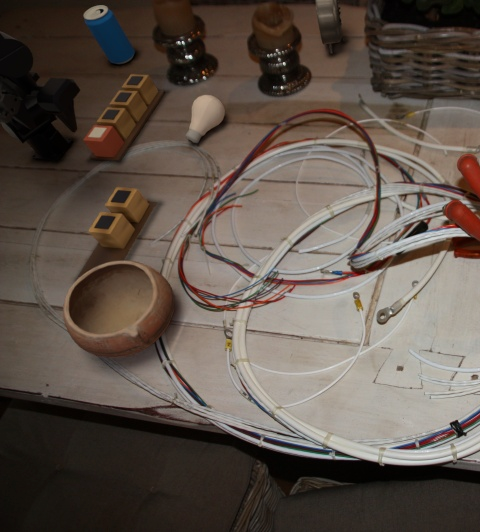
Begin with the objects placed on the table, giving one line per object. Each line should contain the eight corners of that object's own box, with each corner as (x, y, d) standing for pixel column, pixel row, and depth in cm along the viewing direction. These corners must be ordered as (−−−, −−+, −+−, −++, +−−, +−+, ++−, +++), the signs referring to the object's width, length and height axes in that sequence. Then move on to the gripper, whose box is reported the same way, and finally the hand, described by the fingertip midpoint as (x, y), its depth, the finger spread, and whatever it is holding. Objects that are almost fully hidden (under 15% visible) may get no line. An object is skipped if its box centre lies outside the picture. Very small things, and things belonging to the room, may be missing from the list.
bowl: (161, 374, 83) (127, 346, 75) (73, 362, 86) (31, 334, 78) (199, 288, 92) (172, 254, 84) (117, 280, 95) (83, 246, 87)
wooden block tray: (79, 278, 96) (60, 261, 92) (126, 201, 106) (111, 182, 101) (113, 282, 95) (96, 265, 90) (158, 204, 104) (144, 185, 100)
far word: (90, 159, 114) (75, 140, 109) (138, 91, 125) (126, 71, 121) (119, 161, 112) (105, 142, 108) (165, 92, 124) (154, 72, 120)
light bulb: (188, 134, 107) (215, 89, 109) (168, 130, 111) (195, 86, 113) (211, 153, 113) (236, 109, 115) (191, 148, 116) (216, 106, 118)
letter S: (95, 156, 113) (82, 139, 109) (106, 141, 116) (93, 124, 112) (114, 157, 112) (101, 140, 108) (124, 142, 115) (112, 125, 111)
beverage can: (141, 53, 134) (115, 7, 124) (122, 68, 131) (93, 22, 121) (124, 47, 136) (97, 1, 127) (105, 62, 134) (75, 16, 124)
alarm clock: (323, 31, 131) (306, -38, 117) (345, 27, 130) (331, -42, 117) (325, 58, 124) (307, -11, 111) (348, 54, 124) (333, -15, 111)
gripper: (-86, 86, 86) (-13, 157, 99) (12, 91, 82) (74, 164, 95) (-41, 43, 92) (22, 116, 105) (51, 46, 88) (105, 121, 101)
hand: (54, 129), depth 101 cm, fingers open, 9 cm apart
